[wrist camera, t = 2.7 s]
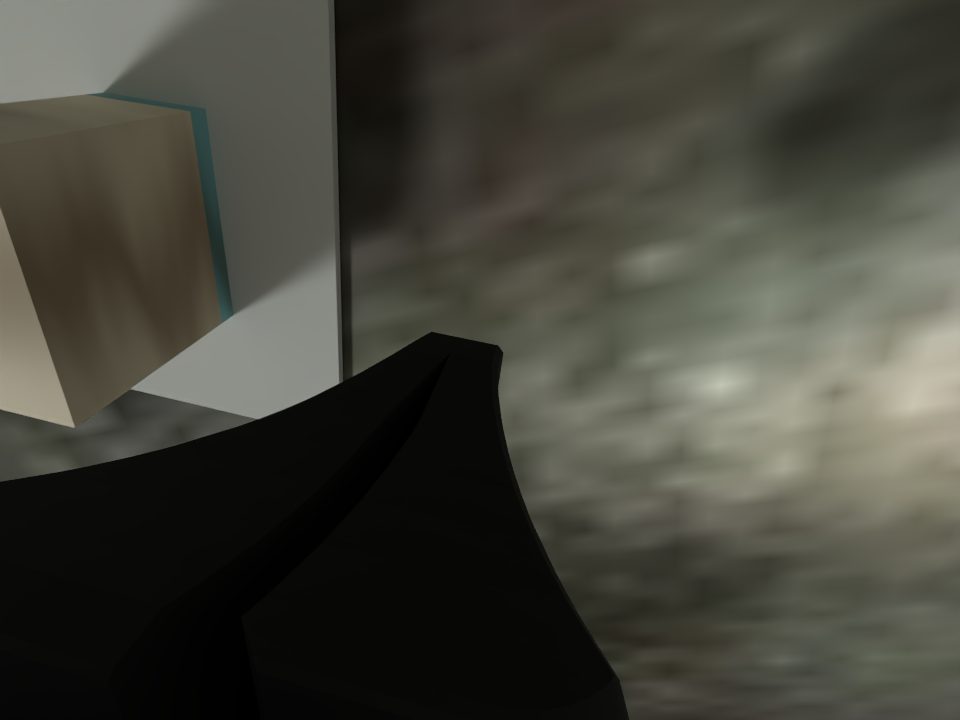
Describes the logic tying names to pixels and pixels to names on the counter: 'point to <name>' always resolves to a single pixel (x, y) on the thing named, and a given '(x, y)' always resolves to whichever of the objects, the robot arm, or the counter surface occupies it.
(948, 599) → the counter surface
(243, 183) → the grey rubber mat
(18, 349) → the maple block
